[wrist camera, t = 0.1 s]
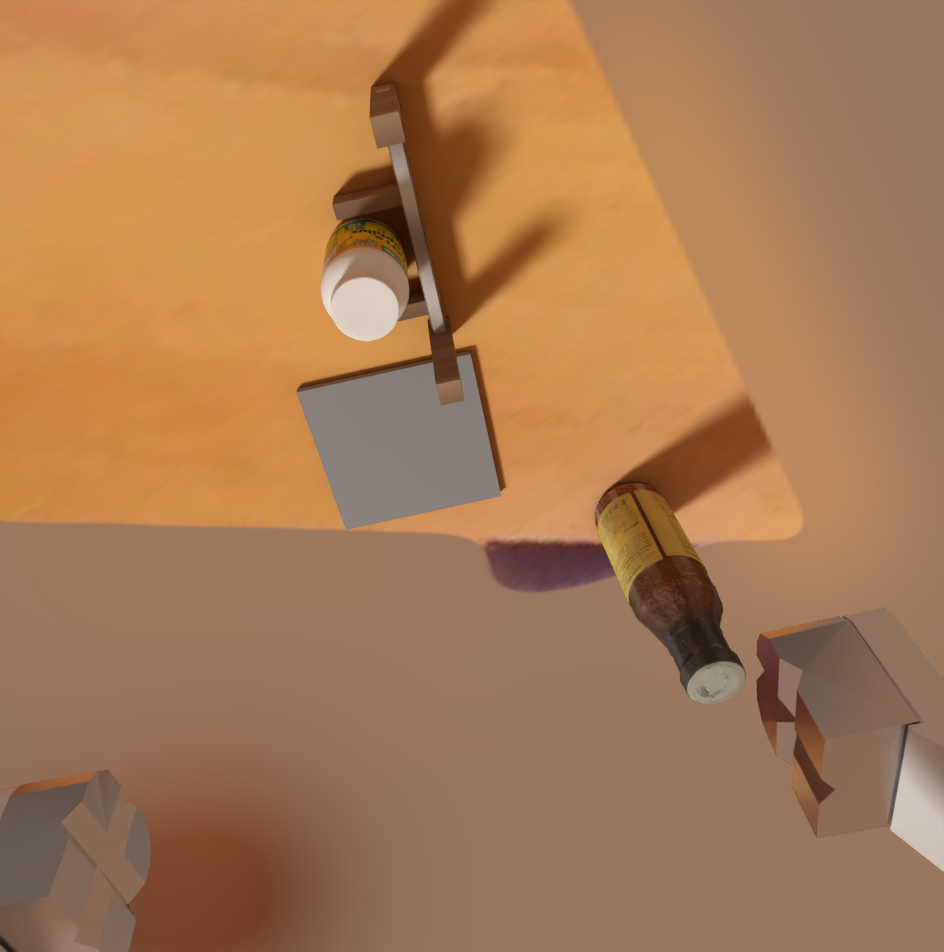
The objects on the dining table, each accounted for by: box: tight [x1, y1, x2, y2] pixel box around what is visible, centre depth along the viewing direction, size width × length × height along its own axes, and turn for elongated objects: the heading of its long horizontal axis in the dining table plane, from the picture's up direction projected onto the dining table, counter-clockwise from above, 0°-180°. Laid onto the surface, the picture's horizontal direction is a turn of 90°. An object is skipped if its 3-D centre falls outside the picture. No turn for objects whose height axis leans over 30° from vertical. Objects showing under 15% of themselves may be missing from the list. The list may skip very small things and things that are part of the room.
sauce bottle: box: [595, 483, 746, 704], centre depth 61 cm, size 6×6×20 cm
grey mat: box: [297, 351, 501, 530], centre depth 63 cm, size 13×13×1 cm
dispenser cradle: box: [333, 82, 465, 406], centre depth 50 cm, size 17×6×10 cm, turn 11°
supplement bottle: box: [321, 218, 409, 341], centre depth 51 cm, size 5×5×10 cm
